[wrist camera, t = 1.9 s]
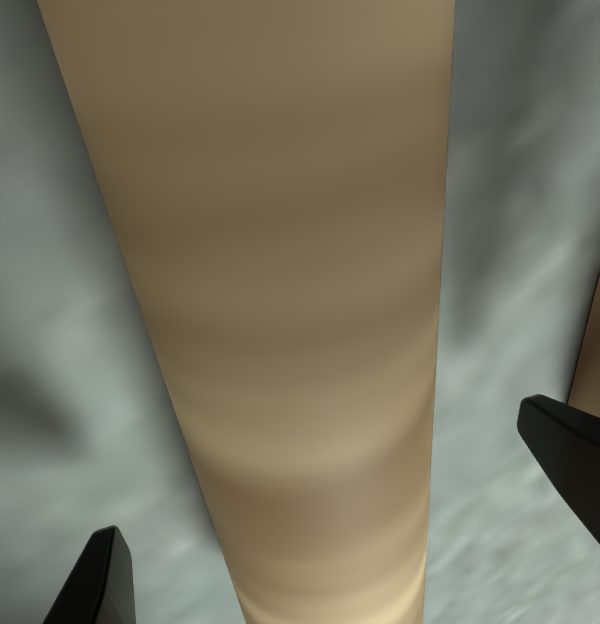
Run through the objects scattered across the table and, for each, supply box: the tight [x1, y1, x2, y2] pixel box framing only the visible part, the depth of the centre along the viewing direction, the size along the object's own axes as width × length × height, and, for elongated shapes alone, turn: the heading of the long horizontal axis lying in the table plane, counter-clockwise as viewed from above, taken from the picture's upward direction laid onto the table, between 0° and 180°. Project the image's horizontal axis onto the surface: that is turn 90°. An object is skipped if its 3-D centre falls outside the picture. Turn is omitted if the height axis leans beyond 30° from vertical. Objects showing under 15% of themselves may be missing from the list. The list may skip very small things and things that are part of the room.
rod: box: [37, 0, 455, 624], centre depth 8 cm, size 16×4×4 cm, turn 7°
